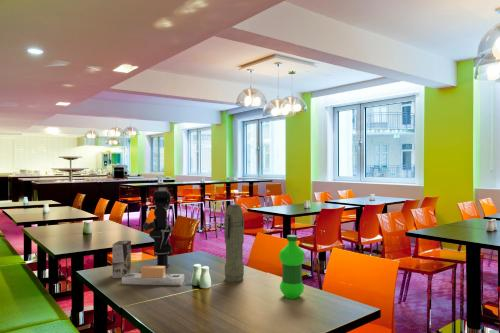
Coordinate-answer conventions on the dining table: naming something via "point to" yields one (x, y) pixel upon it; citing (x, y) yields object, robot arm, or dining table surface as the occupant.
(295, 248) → the plastic bottle
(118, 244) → the coffee box
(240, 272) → the thermos
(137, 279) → the rail
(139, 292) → the dining table surface
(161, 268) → the tapered peach wedge
